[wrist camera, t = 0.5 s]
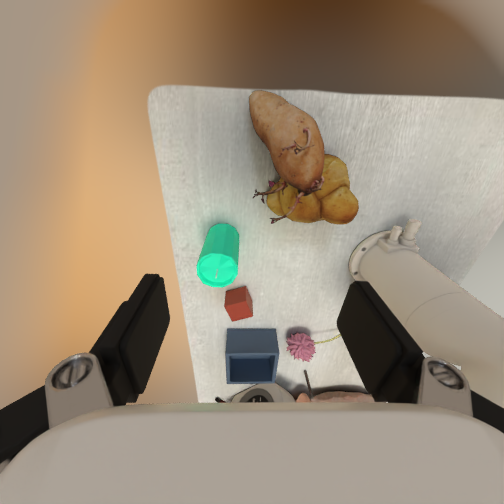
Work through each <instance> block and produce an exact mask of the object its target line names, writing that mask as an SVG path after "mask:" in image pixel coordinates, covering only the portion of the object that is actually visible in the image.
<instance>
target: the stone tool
mask: <svg viewBox="0 0 504 504" xmlns="http://www.w3.org/2000/svg"><path fill="white" fill-rule="evenodd" d="M310 401H311V402H344V403H386V402H375V401H374V399H373V397H372V395H370V394H363V393H360V392H357V393H354V392H343V391H336V392H325V393H321V394H319V395H317V396H314V397H313V398H312V399H310Z"/></svg>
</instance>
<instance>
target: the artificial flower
mask: <svg viewBox="0 0 504 504" xmlns="http://www.w3.org/2000/svg"><path fill="white" fill-rule="evenodd" d="M340 336H341V334H339V335H338V336H336V337H334V338H332V339H330V340H326V341H321V342H314V340H311V337H310V336H307V335H306V334H305V333H302V334H299V333H297V334H294V336H293V335H292V333H291V338H287V339H288V341H289V342H288V341H286V342H287V344H288V345H289V346H288V347H287V351H288V350H291V351H290V353H291V355H294V360H295V358H297V359H298V360H299V358H301V359H302V360H303V362H304V360H305V361H308V360H309V359H311V358H310V357H314V356H312V355H313V354H314V353H316V352H315V351H316V349H315V347H314V345H315V344H318V343H324V342H328V341H332V340H334V339H336V338H338V337H340ZM314 349H315V350H314ZM311 354H312V355H311ZM308 362H310V361H308Z"/></svg>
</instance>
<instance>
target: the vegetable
mask: <svg viewBox="0 0 504 504" xmlns="http://www.w3.org/2000/svg"><path fill="white" fill-rule="evenodd" d="M249 105H250V113H251V118H252V122H253V126H254V129H255V131H256V133H257V135H258V136H259V137H260V139H261V140H262V142H263V143H264V144H265V145H266V146H267V148H268V150H269V152H270V155H271V158H272V161H273V164H274V167H275V169H276V171H277V172H278V174H279V175H280V176H281V178H282V179H283V180H284V181H283V182H282V183H274V182H272V181H270V180H269V182H268V183H269V186H270V187H273V186H274V184H282V186H281V187H279V188H278V189H275V190H273V191H269V192H268V191H267V192H262V193H260V192H257V190H255V193H256V192H257V194H254V195H256V196H258V195H262V199H261V200H262V202H263V203H264V199H263V196H264V195H268V194H273V193H276V192H278V191H280V190H282V192H283V190H284V189H285V188H286V187H288V185H287V183H288V184H289V185H291V186H293V187H294V188H296V189H298V193H299V195H298V196H296V197H295V198H296V201H295V204H294V205H293V206H292V207H288V209H289V208H291V210H290V211H289V212H288V213H287V214H286V215H284V216H283V217H280V218H270V219H272V221H271V224H273V223H275V222H277V221H278V220H280V219H283V218H285V217H287V216H288V215H289V214H291V213H292V212H293V211H294V209H295V208H296V206H297V204H298V203H302V202H300V201H299V199H300V198H301V197H302V196H308V195H310V194H311V193H313V192H315V191H318V190H322V189H321V187H322V185H323V183H324V177H323V176H322V173H323V167H324V143H323V140H322V137H321V134H320V131H319V129H318V126H317V123H316V121H315V120H314V119H313V118H312V117H311V116H310V115H308V114H307V113H305V112H304V111H302V110H300V109H299V108H297V107H295V106H293V105H291V104H289V103H288V102H287V101H286V100H285V99H284V98H282V97H281V96H278V95H276V94H274V93H270V92H266V91H262V90H257V91H254V92H252V94H251V95H250V97H249ZM320 181H321V182H320ZM296 194H297V193H296ZM282 195H284V193H282ZM254 197H255V196H254ZM254 197H253V198H254ZM300 200H301V199H300ZM264 204H265V203H264ZM273 219H274V220H273ZM275 220H276V221H275ZM274 221H275V222H274Z"/></svg>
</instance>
